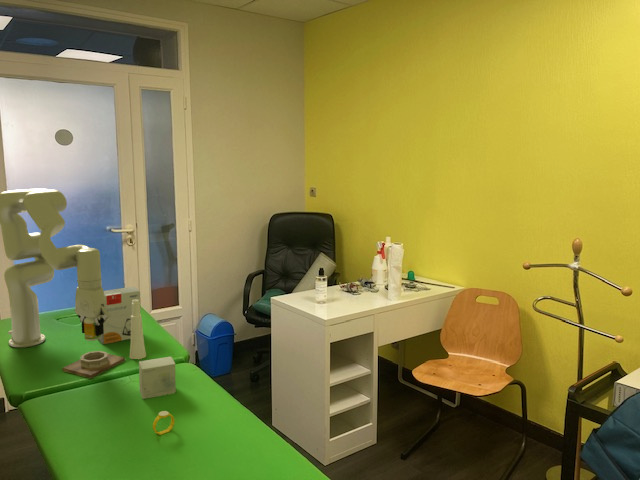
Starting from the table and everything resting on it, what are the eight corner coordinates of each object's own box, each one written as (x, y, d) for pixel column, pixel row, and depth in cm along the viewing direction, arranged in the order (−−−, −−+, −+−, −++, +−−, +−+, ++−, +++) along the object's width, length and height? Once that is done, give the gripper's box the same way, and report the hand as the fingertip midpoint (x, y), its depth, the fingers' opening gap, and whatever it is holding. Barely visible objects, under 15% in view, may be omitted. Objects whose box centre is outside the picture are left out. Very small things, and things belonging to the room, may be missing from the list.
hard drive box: (103, 345, 206) (100, 296, 203) (97, 339, 212) (94, 291, 208) (142, 336, 216) (140, 290, 212) (135, 331, 222) (133, 285, 218)
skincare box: (142, 400, 165) (141, 368, 163) (139, 391, 171) (138, 361, 169) (176, 393, 170) (175, 363, 168) (172, 385, 176) (171, 355, 174)
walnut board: (62, 371, 183) (62, 361, 183) (98, 354, 198) (97, 345, 197) (91, 378, 179) (90, 368, 178) (125, 360, 193) (124, 351, 192)
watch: (170, 427, 151) (171, 408, 150) (175, 431, 149) (176, 412, 148) (151, 434, 147) (151, 413, 146) (155, 438, 145) (156, 417, 144)
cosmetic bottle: (149, 355, 198) (147, 299, 194) (138, 361, 193) (135, 303, 189) (137, 352, 201) (135, 296, 197) (125, 357, 196) (123, 301, 191)
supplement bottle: (95, 341, 183) (93, 315, 181) (81, 340, 184) (79, 313, 182) (104, 336, 188) (103, 310, 186) (91, 334, 189) (89, 309, 187)
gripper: (62, 283, 182) (66, 333, 186) (100, 289, 176) (103, 341, 179) (79, 278, 189) (83, 326, 192) (117, 284, 183) (119, 333, 186)
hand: (92, 332), depth 186 cm, fingers closed on supplement bottle, 5 cm apart
